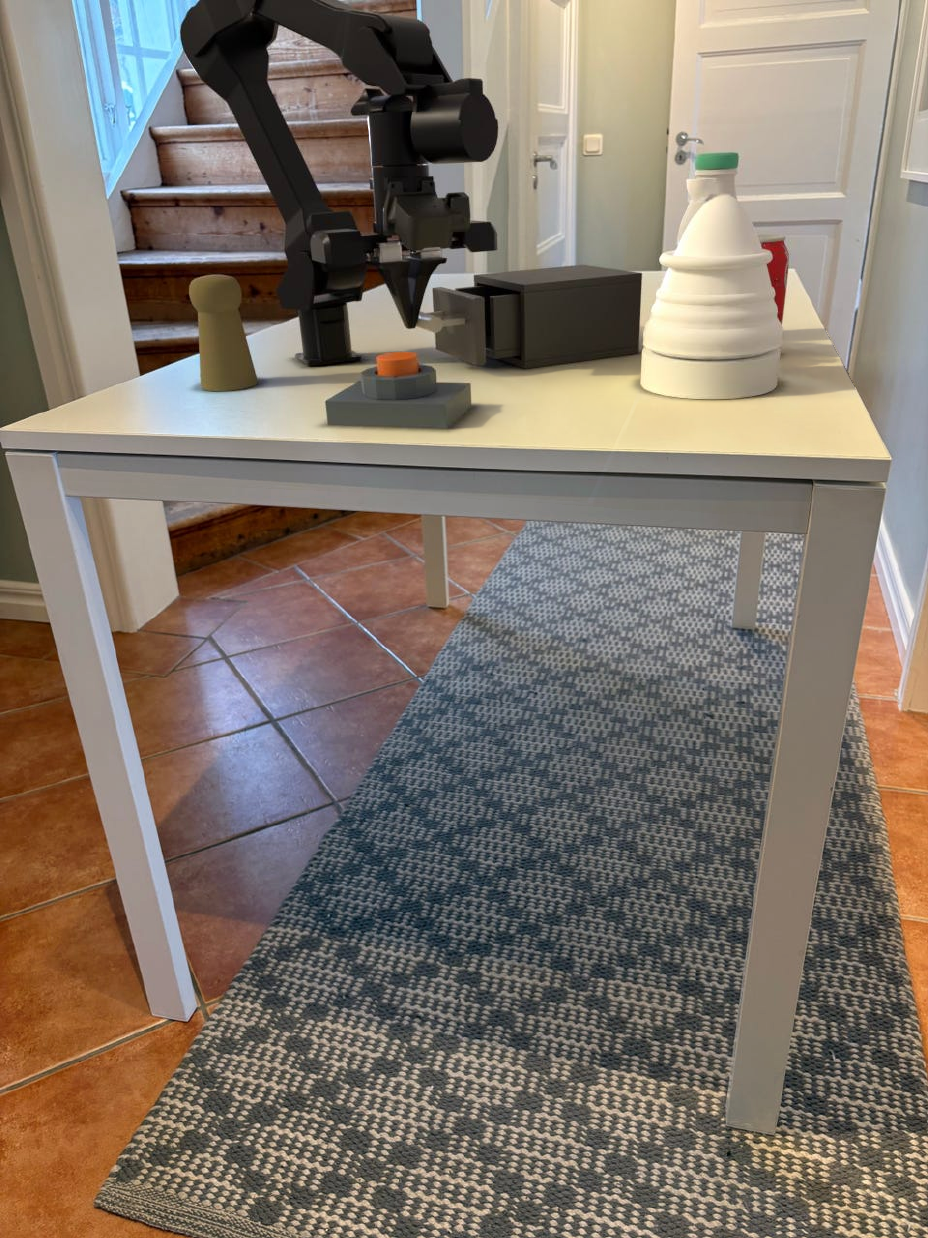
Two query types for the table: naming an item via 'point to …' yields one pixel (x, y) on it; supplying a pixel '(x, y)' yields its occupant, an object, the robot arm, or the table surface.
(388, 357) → the button
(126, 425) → the table surface
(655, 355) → the honey pot
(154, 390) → the table surface
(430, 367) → the control block
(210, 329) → the cork
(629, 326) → the cabinet
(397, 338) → the table surface
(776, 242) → the soda can
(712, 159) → the milk bottle
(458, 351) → the drawer
